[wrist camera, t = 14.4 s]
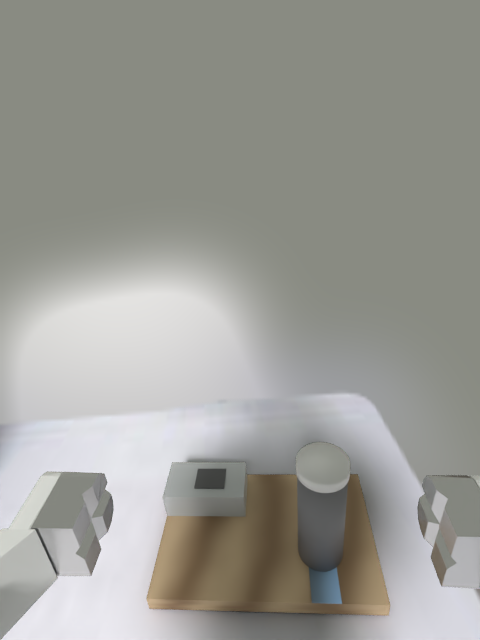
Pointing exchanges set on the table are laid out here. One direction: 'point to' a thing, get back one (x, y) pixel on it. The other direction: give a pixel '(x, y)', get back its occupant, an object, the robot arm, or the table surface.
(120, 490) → the table surface
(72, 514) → the robot arm
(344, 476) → the peg
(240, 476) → the block
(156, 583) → the board
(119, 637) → the table surface
